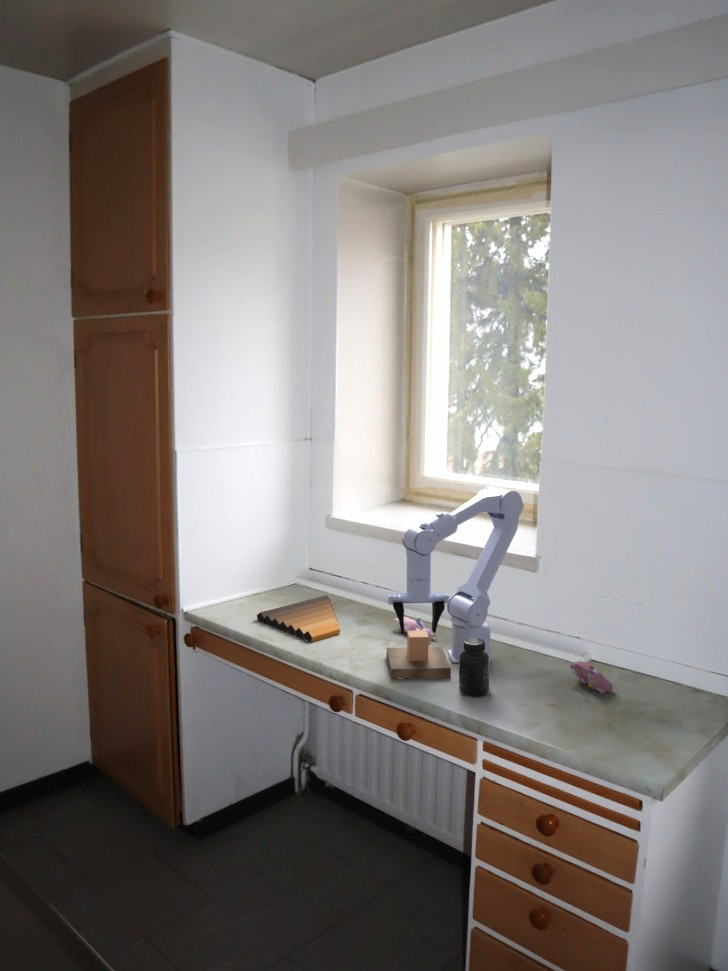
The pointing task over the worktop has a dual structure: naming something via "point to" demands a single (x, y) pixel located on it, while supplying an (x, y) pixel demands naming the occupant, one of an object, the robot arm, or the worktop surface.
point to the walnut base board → (418, 664)
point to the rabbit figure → (416, 627)
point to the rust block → (417, 645)
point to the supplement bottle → (474, 668)
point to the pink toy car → (590, 676)
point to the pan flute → (304, 619)
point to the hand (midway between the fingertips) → (418, 631)
